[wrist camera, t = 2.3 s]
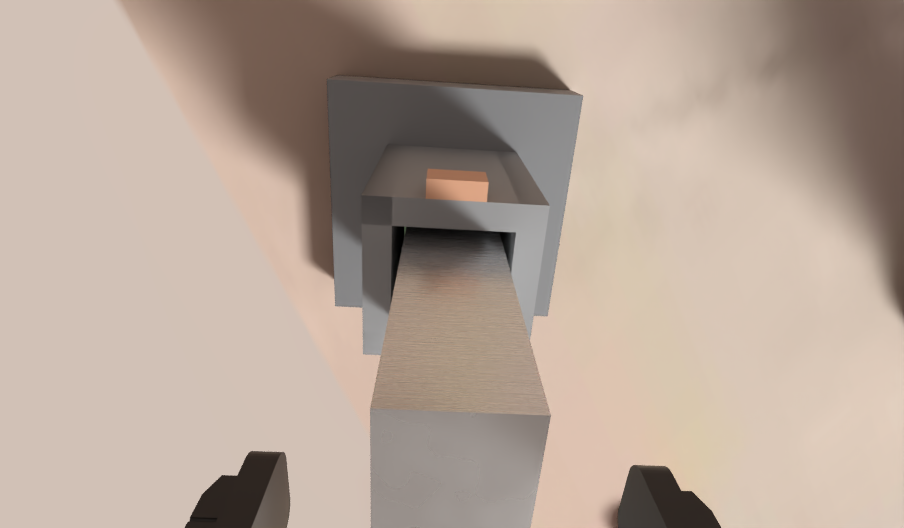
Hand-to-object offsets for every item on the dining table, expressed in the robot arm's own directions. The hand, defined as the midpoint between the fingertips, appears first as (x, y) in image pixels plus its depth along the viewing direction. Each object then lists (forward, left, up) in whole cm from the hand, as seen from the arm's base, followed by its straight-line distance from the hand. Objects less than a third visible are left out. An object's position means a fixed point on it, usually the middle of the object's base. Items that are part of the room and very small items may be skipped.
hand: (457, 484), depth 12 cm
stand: (0, 0, -23) cm, 23 cm away
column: (0, 0, -20) cm, 20 cm away
